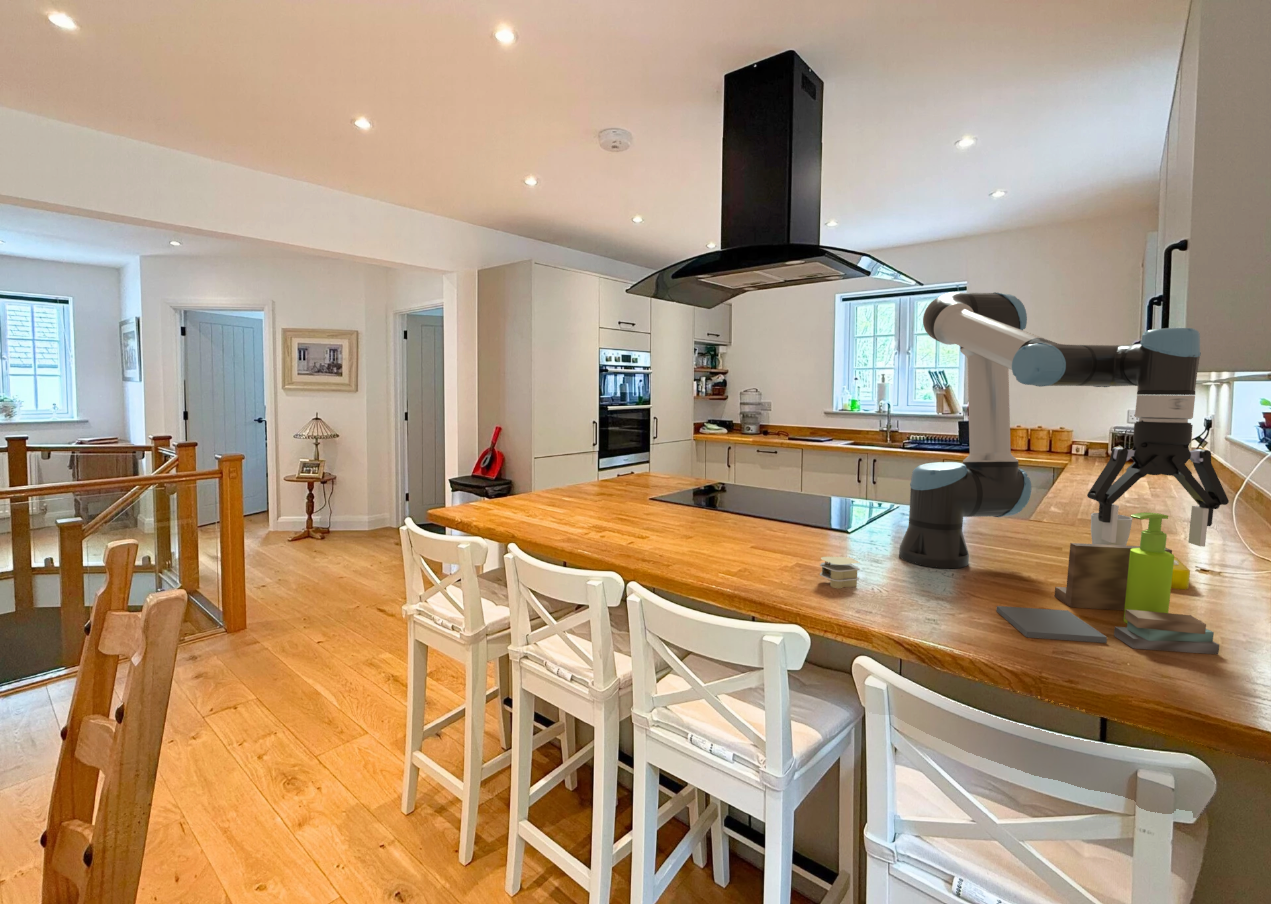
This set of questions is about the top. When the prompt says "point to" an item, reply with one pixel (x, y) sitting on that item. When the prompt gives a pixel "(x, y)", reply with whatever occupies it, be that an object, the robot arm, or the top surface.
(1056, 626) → the slate mat
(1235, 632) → the top surface
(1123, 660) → the top surface
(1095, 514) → the cup
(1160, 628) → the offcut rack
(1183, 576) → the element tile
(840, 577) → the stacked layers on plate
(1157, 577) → the soap dispenser
